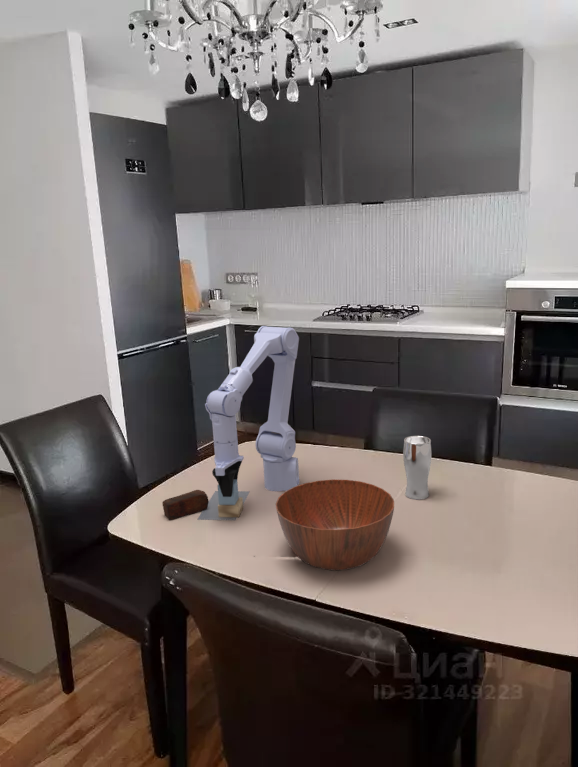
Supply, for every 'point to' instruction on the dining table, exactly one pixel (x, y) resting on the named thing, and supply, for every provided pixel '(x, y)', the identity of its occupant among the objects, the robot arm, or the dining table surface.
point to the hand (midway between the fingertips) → (229, 492)
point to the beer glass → (417, 466)
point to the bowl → (335, 522)
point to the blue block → (229, 500)
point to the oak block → (231, 509)
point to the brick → (185, 504)
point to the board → (212, 508)
